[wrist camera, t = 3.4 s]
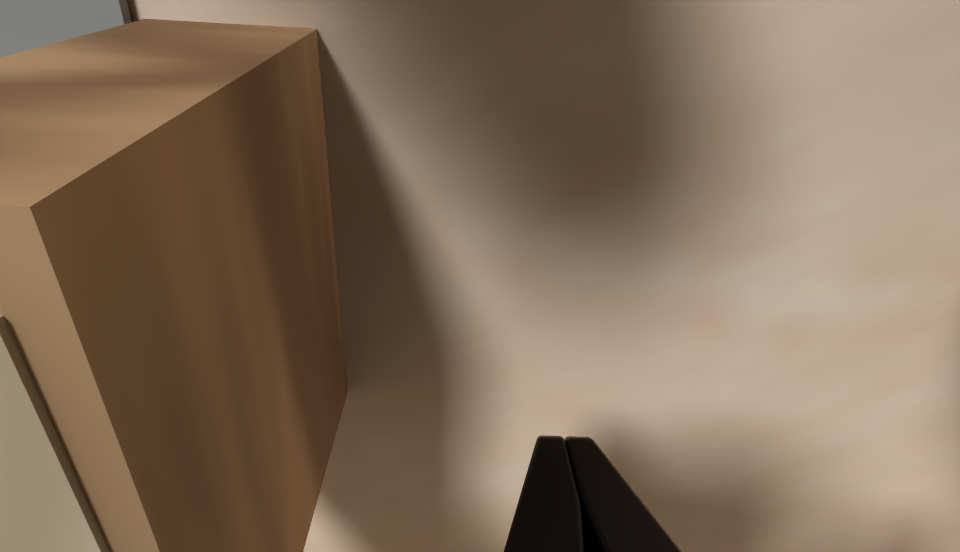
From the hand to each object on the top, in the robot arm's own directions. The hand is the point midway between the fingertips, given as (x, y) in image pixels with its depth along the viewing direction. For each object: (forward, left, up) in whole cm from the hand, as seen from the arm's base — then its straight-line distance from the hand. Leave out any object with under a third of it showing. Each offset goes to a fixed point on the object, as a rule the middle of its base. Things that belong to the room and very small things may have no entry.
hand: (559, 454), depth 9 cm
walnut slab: (+7, 0, -7) cm, 9 cm away
